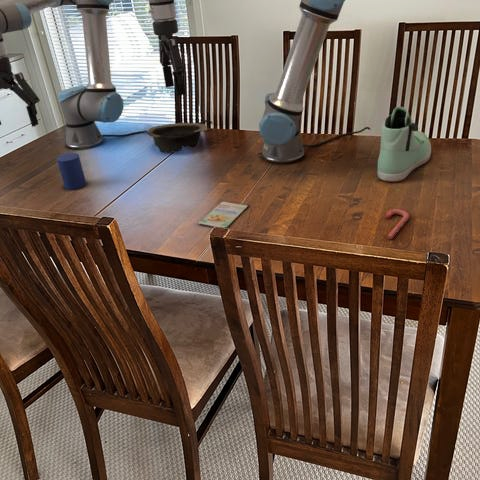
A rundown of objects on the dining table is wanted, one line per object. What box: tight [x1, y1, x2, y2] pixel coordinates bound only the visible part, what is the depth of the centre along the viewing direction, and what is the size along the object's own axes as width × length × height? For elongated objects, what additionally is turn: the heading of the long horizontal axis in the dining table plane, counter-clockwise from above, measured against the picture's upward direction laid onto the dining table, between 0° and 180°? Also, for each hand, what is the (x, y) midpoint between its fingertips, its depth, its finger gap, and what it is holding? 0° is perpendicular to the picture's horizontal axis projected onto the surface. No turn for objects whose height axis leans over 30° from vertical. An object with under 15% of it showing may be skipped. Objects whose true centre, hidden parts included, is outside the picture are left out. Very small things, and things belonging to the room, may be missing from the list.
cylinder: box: [56, 152, 87, 191], centre depth 164 cm, size 7×7×11 cm
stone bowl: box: [143, 122, 208, 154], centre depth 192 cm, size 25×25×9 cm
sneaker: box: [376, 106, 432, 183], centre depth 158 cm, size 14×35×20 cm, turn 152°
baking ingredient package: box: [198, 201, 249, 228], centre depth 141 cm, size 9×1×15 cm
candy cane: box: [385, 208, 410, 240], centre depth 129 cm, size 6×15×2 cm, turn 145°
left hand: (16, 125), depth 157 cm, fingers open, 13 cm apart
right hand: (175, 90), depth 157 cm, fingers open, 13 cm apart
